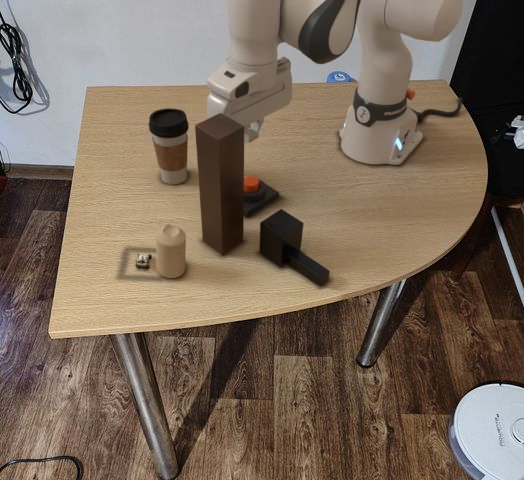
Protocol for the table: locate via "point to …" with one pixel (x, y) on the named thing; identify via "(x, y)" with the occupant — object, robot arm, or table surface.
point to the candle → (170, 251)
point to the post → (221, 181)
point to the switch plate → (259, 198)
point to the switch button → (251, 184)
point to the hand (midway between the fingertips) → (250, 139)
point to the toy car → (143, 260)
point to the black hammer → (288, 246)
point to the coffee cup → (170, 143)
